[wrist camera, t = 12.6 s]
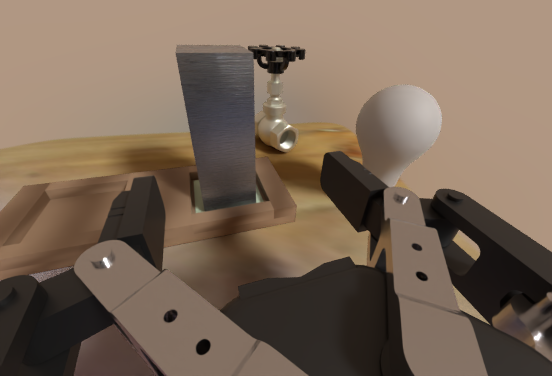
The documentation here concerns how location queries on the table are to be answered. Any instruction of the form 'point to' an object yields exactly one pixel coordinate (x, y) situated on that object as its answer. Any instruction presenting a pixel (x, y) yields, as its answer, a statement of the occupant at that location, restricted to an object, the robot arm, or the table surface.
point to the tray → (96, 205)
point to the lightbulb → (396, 130)
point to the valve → (275, 97)
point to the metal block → (221, 121)
